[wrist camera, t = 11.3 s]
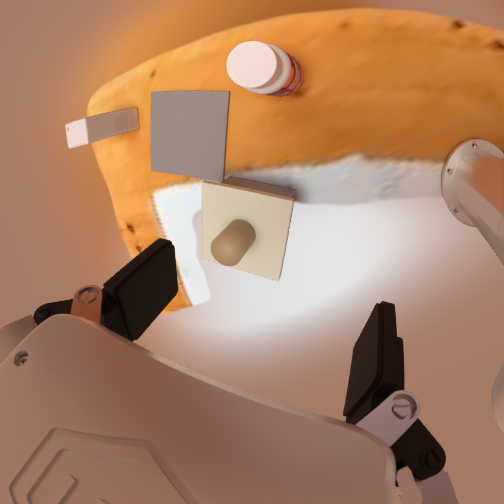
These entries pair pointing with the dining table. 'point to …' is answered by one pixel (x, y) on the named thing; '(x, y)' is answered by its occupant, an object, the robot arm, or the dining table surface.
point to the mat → (189, 133)
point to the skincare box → (101, 126)
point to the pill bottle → (264, 69)
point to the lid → (245, 228)
